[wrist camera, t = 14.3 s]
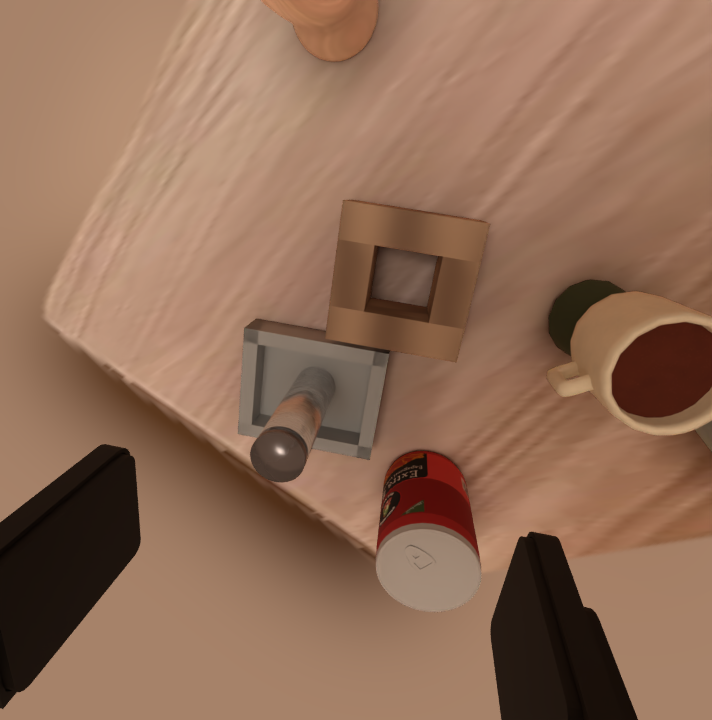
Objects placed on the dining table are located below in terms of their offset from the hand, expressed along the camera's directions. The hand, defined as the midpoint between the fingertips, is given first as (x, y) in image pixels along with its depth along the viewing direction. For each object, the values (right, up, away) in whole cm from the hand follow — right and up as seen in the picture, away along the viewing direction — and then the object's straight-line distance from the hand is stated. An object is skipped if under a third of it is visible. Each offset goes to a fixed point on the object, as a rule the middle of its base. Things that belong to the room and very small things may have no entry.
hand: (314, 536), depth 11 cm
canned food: (+8, -8, +33) cm, 34 cm away
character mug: (+20, +8, +26) cm, 33 cm away
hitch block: (+5, +11, +26) cm, 29 cm away
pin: (-3, +2, +30) cm, 30 cm away
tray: (-3, +2, +30) cm, 30 cm away
